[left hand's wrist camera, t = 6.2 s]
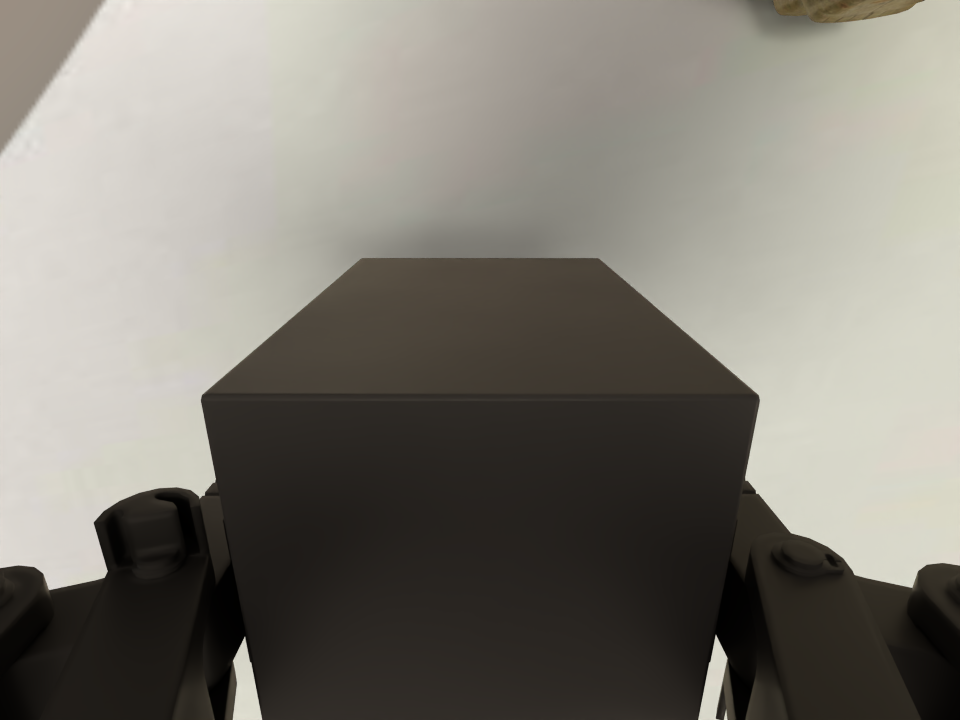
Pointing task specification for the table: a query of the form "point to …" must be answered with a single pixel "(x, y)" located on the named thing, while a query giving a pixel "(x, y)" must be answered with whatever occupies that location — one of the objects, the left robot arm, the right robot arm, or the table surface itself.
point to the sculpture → (842, 9)
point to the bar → (480, 496)
